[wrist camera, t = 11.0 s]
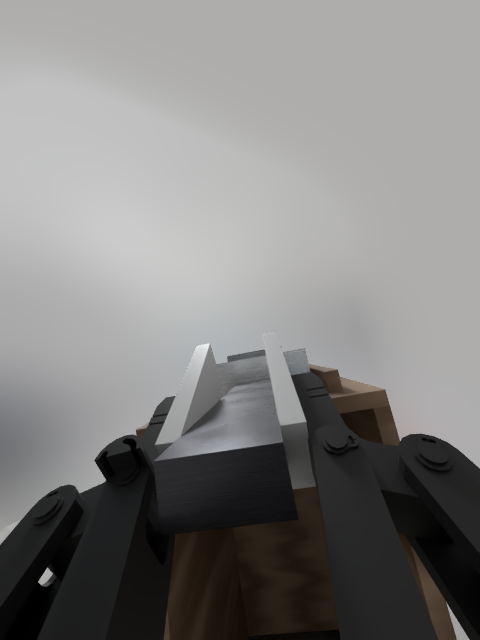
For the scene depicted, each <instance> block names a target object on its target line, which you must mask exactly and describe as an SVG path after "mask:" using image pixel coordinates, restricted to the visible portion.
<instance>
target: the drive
mask: <svg viewBox="0 0 480 640" xmlns="http://www.w3.org/2000/svg"><path fill="white" fill-rule="evenodd" d="M283 355H284V358H285V361H286V364H287V367H288V370H289V372H290V375H295V374H301V373H307V372H310V368H309V364H308V360H307V356H306V351H305V349H299V350H293V351H287V352H283ZM227 358H228V362H227V363H222V364H216V366H217V369H218V373H219V376H220V380H221V388H220V395H219V401H218V402H217V403H216V404H215V405H214V406H213V407H212V408H211V409H210V410H209V411H208V412H207V413H205V414H204V415H203V416H202V417H201V418H200V419H199V420H198V421H197V422H196V423H195V424H194V425H193V426H191V427H190V428H189V429H188V430H187V431H186V432H185V433H184V434H183V435H182V436H181V437H179V438H178V439H177V440H176V441H175V442H174V443H173V444H172V445H171V446H170V447H168V448H167V449H166V450H165V451H164V452H163V453H162V454H161V455H160V456H159V457H158V458H157V459H155V460H154V471H155V481H156V492H157V502H158V512H159V522H160V532H161V536H163V535H172V534H180V533H189V532H197V531H206V530H214V529H223V528H231V527H240V526H249V525H257V524H266V523H274V522H283V521H291V520H298V514H297V509H296V504H295V499H294V494H293V489H292V483H291V478H290V473H289V468H288V463H287V458H286V453H285V448H284V443H283V438H282V433H281V428H280V423H279V420H278V414H277V409H276V404H275V399H274V394H273V389H272V383H271V378H270V373H269V368H268V363H267V358H266V352H265V350H260V351H254V352H249V353H243V354H238V355H232V356H228V357H227Z"/></svg>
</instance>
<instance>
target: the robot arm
mask: <svg viewBox="0 0 480 640" xmlns="http://www.w3.org/2000/svg"><path fill="white" fill-rule="evenodd" d="M262 337H263V342H264V347H265V352H266V358H267V363H268V368H269V373H270V378H271V383H272V389H273V394H274V399H275V404H276V409H277V414H278V420H279V423H280V428H281V433H282V438H283V443H284V448H285V453H286V458H287V463H288V468H289V473H290V478H291V483H292V489H300V488H308V487H316V486H317V490H318V493H319V499H320V506H321V513H322V520H323V527H324V533H325V540H326V547H327V554H328V560H329V567H330V574H331V581H332V588H333V594H334V601H335V608H336V615H337V622H338V628H339V635H340V640H439V639H438V637H437V634H436V632H435V629H434V626H433V624H432V621H431V619H430V616H429V614H428V611H427V608H426V606H425V603H424V601H423V598H422V595H421V593H420V590H419V588H418V585H417V583H416V580H415V577H414V575H413V572H412V570H411V567H410V564H409V562H408V559H407V557H406V554H405V552H404V549H403V546H402V544H401V541H400V539H399V536H398V533H401V534H404V535H405V536H406V538H407V539H408V541H409V543H410V544H411V546H412V547H413V549H414V551H415V552H416V554H417V556H418V557H419V559H420V560H421V562H422V564H423V565H424V567H425V568H426V570H427V572H428V573H429V575H430V576H431V578H432V580H433V581H434V583H435V585H436V586H437V588H438V589H439V591H440V593H441V594H442V596H443V597H444V599H445V601H446V602H447V604H448V605H449V607H450V609H451V610H452V612H453V614H454V615H455V617H456V618H457V620H458V622H459V623H460V625H461V626H462V628H463V630H464V631H465V633H466V634H467V636H468V638H469V639H470V640H480V469H479V468H478V467H477V466H476V465H475V464H474V463H473V462H472V461H470V460H469V459H468V458H467V457H466V456H465V455H464V454H462V453H461V452H460V451H459V450H458V449H456V448H455V447H453V446H452V445H450V444H449V443H448V442H446V441H443V440H441V439H439V438H436V437H434V436H429V435H425V434H410V435H408V436H406V437H404V438H402V439H401V441H400V443H399V444H398V446H395V445H387V444H380V443H375V442H370V441H367V440H365V439H362V438H360V437H359V436H358V435H357V434H355V433H354V432H353V431H351V430H350V429H348V427H347V426H346V424H345V423H344V421H343V419H342V417H341V416H340V414H339V412H338V410H337V408H336V406H335V405H334V403H333V401H332V399H331V397H330V395H329V394H328V392H327V390H326V388H325V386H324V384H323V383H322V381H321V379H320V378H319V377H318V376H317V375H315V374H314V373H312V372H307V373H301V374H295V375H290V372H289V370H288V367H287V364H286V361H285V358H284V355H283V352H282V349H281V346H280V344H279V341H278V337H277V335H276V332H275V331H272V332H266V333H262ZM220 388H221V380H220V376H219V373H218V369H217V366H216V363H215V359H214V356H213V352H212V349H211V345H210V344H204V345H198V346H197V347H196V350H195V352H194V354H193V357H192V359H191V361H190V364H189V366H188V368H187V371H186V373H185V375H184V378H183V380H182V382H181V385H180V387H179V390H178V392H177V394H176V396H173V397H167V398H165V399H164V400H163V401H162V402H161V403H160V404H159V405H158V406H157V408H156V410H155V412H154V414H153V418H151V420H150V422H149V426H147V428H146V430H145V432H144V434H143V436H142V438H141V440H140V438H139V437H138V436H135V435H127V436H123V437H121V438H119V439H116V440H115V441H113V442H112V443H110V444H109V445H107V446H106V447H105V448H104V449H103V450H102V451H101V452H100V453H99V455H98V456H97V457H96V459H95V462H96V464H97V466H98V467H99V469H100V470H101V472H102V474H103V475H104V477H105V479H106V482H104V483H103V484H100V485H98V486H96V487H93V488H92V489H89V490H87V491H84V492H82V493H79V492H78V490H77V489H76V487H75V486H73V485H65V486H61V487H59V488H57V489H55V490H53V491H51V492H50V493H48V494H47V495H46V496H44V497H43V498H42V499H41V500H39V501H38V502H37V503H36V504H35V505H34V507H32V509H31V510H30V511H29V512H28V513H27V514H26V515H25V517H24V518H23V519H22V520H21V521H20V522H19V524H18V525H17V526H16V527H15V528H14V530H13V531H12V532H11V533H10V534H9V535H8V537H7V538H6V539H5V540H4V541H3V543H2V544H1V545H0V640H164V633H165V624H166V615H167V606H168V597H169V588H170V580H171V571H172V562H173V553H174V544H175V535H176V534H172V535H163V536H161V532H160V522H159V512H158V502H157V492H156V481H155V471H154V460H155V459H157V458H158V457H159V456H160V455H161V454H162V453H163V452H164V451H165V450H166V449H167V448H168V447H170V446H171V445H172V444H173V443H174V442H175V441H176V440H177V439H178V438H179V437H181V436H182V435H183V434H184V433H185V432H186V431H187V430H188V429H189V428H190V427H191V426H193V425H194V424H195V423H196V422H197V421H198V420H199V419H200V418H201V417H202V416H203V415H204V414H205V413H207V412H208V411H209V410H210V409H211V408H212V407H213V406H214V405H215V404H216V403H217V402H218V401H219V395H220ZM315 483H316V484H315ZM397 532H398V533H397ZM47 567H48V568H49V570H50V571H51V572H52V573H53V575H52V576H51V577H50V579H49V580H48V581H47V582H46V583H45V584H43V585H42V586H41V585H40V584H39V583H38V581H39V579H40V578H41V576H42V575H43V573H44V572H45V570H46V569H47Z"/></svg>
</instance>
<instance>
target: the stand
mask: <svg viewBox="0 0 480 640" xmlns="http://www.w3.org/2000/svg"><path fill="white" fill-rule="evenodd" d="M309 368H310V372H312V373H314V374H315V375H317V376H318V377H319V378H320V379H321V381H322V383H323V384H324V386H325V388H326V390H327V392H328V394H329V395H330V397H331V399H332V401H333V403H334V405H335V406H336V408H337V410H338V412H339V414H340V416H341V417H342V419H343V421H344V423H345V424H346V426H347V427H348V429H350V430H351V431H353V432H354V433H355V434H357V435H358V436H359V437H360V438H362V439H365V440H367V441H370V442H375V443H380V444H387V445H395V446H398V444H399V443H400V440H399V436H398V433H397V429H396V426H395V422H394V419H393V416H392V412H391V408H390V405H389V401H388V398H387V394H386V391H385V389H381V388H378V387H374V386H371V385H367V384H363V383H360V382H356V381H353V380H349V379H345V378H342V377H339V373H338V370H337V369H332V368H326V367H320V366H315V365H310V364H309ZM147 426H149V423H147V424H146V425H144V426H142V427H140V428H138V429H137V430H136V434H137V436H138V437H139V438H140V440H141V438H142V436H143V434H144V432H145V430H146V428H147ZM315 484H316V483H315ZM293 494H294V499H295V504H296V509H297V514H298V520H291V521H283V522H274V523H266V524H257V525H249V526H240V527H231V528H223V529H214V530H206V531H197V532H189V533H180V534H176V535H175V544H174V553H173V562H172V571H171V580H170V588H169V597H168V606H167V615H166V624H165V633H164V640H248V636H256V635H270V634H283V633H297V632H310V631H324V630H337V629H339V628H338V622H337V615H336V608H335V601H334V594H333V588H332V581H331V574H330V567H329V560H328V554H327V547H326V540H325V533H324V527H323V520H322V513H321V506H320V499H319V493H318V490H317V486H316V487H308V488H300V489H293ZM397 533H398V532H397ZM398 536H399V539H400V541H401V544H402V546H403V549H404V552H405V554H406V557H407V559H408V562H409V564H410V567H411V570H412V572H413V575H414V577H415V580H416V583H417V585H418V588H419V590H420V593H421V595H422V598H423V601H424V603H425V606H426V608H427V611H428V614H429V616H430V619H431V621H432V624H433V626H434V629H435V632H436V634H437V637H438V639H439V640H457V639H456V635H455V632H454V628H453V625H452V621H451V618H450V614H449V611H448V607H447V604H446V601H445V599H444V597H443V596H442V594H441V593H440V591H439V589H438V588H437V586H436V585H435V583H434V581H433V580H432V578H431V576H430V575H429V573H428V572H427V570H426V568H425V567H424V565H423V564H422V562H421V560H420V559H419V557H418V556H417V554H416V552H415V551H414V549H413V547H412V546H411V544H410V543H409V541H408V539H407V538H406V536H405V535H404V534H401V533H398Z"/></svg>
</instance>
